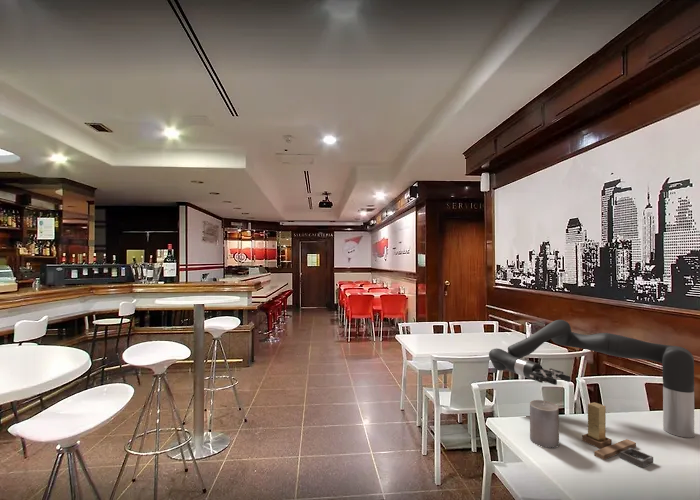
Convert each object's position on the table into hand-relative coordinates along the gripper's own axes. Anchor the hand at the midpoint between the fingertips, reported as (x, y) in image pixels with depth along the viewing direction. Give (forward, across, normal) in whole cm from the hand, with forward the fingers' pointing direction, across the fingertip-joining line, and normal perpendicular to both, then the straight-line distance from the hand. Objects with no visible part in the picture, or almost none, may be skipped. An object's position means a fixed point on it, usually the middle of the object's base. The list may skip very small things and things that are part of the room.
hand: (563, 380), depth 149 cm
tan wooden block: (+13, 0, +19) cm, 23 cm away
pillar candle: (+4, -17, +19) cm, 26 cm away
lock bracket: (+20, 0, +19) cm, 27 cm away
